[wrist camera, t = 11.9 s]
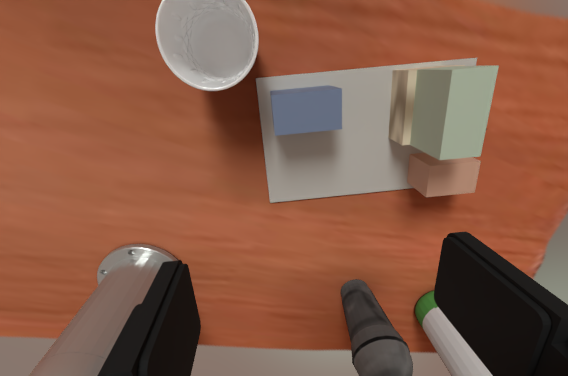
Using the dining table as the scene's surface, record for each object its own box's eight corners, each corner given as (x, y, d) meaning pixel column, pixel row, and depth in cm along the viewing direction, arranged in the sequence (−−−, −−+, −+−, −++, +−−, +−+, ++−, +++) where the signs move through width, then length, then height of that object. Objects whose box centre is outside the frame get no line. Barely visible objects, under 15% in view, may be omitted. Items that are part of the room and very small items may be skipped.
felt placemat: (454, 183, 39) (455, 183, 39) (270, 202, 39) (270, 202, 39) (475, 57, 33) (477, 57, 33) (255, 78, 33) (255, 78, 32)
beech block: (434, 133, 36) (453, 140, 33) (388, 137, 36) (402, 145, 32) (442, 65, 33) (465, 65, 29) (392, 70, 33) (408, 70, 29)
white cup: (275, 46, 31) (279, 37, 22) (229, 99, 33) (215, 111, 24) (219, -14, 29) (198, -52, 20) (173, 47, 31) (134, 38, 22)
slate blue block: (329, 85, 33) (341, 88, 28) (329, 119, 35) (342, 129, 29) (270, 90, 33) (270, 95, 27) (273, 125, 35) (274, 135, 29)
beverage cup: (378, 301, 47) (451, 449, 29) (336, 311, 48) (381, 464, 29) (373, 267, 44) (449, 408, 26) (328, 279, 45) (372, 425, 26)
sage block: (443, 141, 32) (480, 156, 27) (409, 144, 32) (439, 160, 27) (454, 66, 29) (498, 65, 24) (417, 69, 29) (452, 69, 24)
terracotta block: (449, 177, 39) (474, 192, 34) (406, 182, 39) (426, 197, 34) (454, 149, 37) (480, 161, 33) (409, 154, 37) (429, 166, 33)
